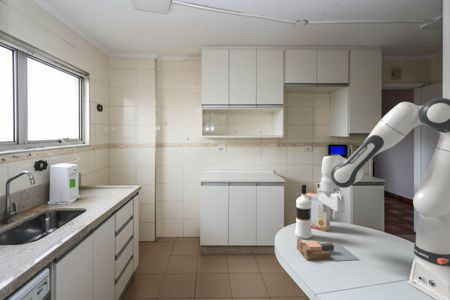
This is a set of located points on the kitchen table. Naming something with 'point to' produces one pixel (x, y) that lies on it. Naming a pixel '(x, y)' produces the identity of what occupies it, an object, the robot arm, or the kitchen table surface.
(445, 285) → the robot arm
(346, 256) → the grey pad
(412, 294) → the kitchen table surface
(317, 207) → the cracker box
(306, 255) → the brown wooden tray
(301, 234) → the vodka
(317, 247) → the terracotta block
